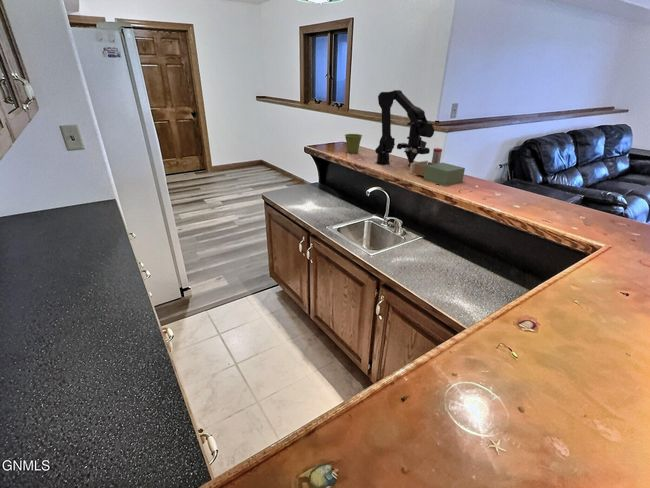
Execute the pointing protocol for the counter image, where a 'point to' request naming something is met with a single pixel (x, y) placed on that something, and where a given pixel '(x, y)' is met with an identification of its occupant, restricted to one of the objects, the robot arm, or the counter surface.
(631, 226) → the counter surface
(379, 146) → the robot arm
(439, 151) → the canister
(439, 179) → the cabinet
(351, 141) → the plant pot
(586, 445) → the counter surface
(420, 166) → the drawer
